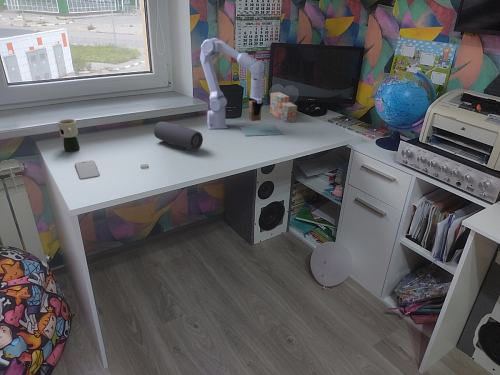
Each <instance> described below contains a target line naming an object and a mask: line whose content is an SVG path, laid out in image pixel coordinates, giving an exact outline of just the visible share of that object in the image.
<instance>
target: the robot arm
mask: <svg viewBox="0 0 500 375" xmlns="http://www.w3.org/2000/svg"><path fill="white" fill-rule="evenodd" d="M200 49H201V50H200V56H199V59H200V64H201V66H202V70H203V74H204V76H205V79H206V83H207V87H208V89H209V90H208V91H209V107H210V110H207V112H206V114H207V115H206V116H207V119H206V120H207V123H206V124H207V127H208V129H209V130H216V129H228V127H227V125H226V106H227V104H228V100H227V98H226V97H225V95H224V93H223V91H222V90H221V89H220V85H219V84H220V83H219V81H218V77H217V75H216V71H215V68H214V65H213V61H212V59H213V57H214V55H215V54H216V53H224V54H226V55H228V56H230V57H231V58H232V59H235V60H236V62H237V63H238V64H239V65H240V66H241V67H243V68H245V69H247V71H249V72H250V74H251V77H250V95H249V98H248V102H249V101H253V102H252V104H253V107H254V115H255V116H259V113H260V110H261V111H262V107H263V105H264V102H263V100H262V99H264V98H265V95H263V79H264V78H263V76H264V71H265V63H263V61H262V60H257V58H254V57H252V56H250V55H249V53H248V52H241V53H240V52H239V51H238V50H236V49H235V48H233V47H232V46H230V45H228V44H227V43H226V42H225V41H223V40H220V39H219V38H217V37H211V38H207V39H204V40H203V42H202V44H201V45H200Z"/></svg>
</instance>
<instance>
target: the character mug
mask: <svg viewBox="0 0 500 375" xmlns="http://www.w3.org/2000/svg"><path fill="white" fill-rule="evenodd" d="M57 125H58V131H59V135H60V137H61V138H63V149H64V151H65V152H74V151H76V150H80V148H81V147H80V144H79V139H78V138H77V136H79V130H78V125H77V121H76V119H73V118H65V119H60V120H58V121H57Z"/></svg>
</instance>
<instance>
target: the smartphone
mask: <svg viewBox="0 0 500 375" xmlns="http://www.w3.org/2000/svg"><path fill="white" fill-rule="evenodd" d="M74 167H75V170H76V173H77V175H78V178H79V180H88V179H91V178H92V179H93V178H98V177H100V176H101V174H100V172H99V170H98V167H97V164H96V163H95V161H94V160H87V161H79V162H75V163H74Z"/></svg>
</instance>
